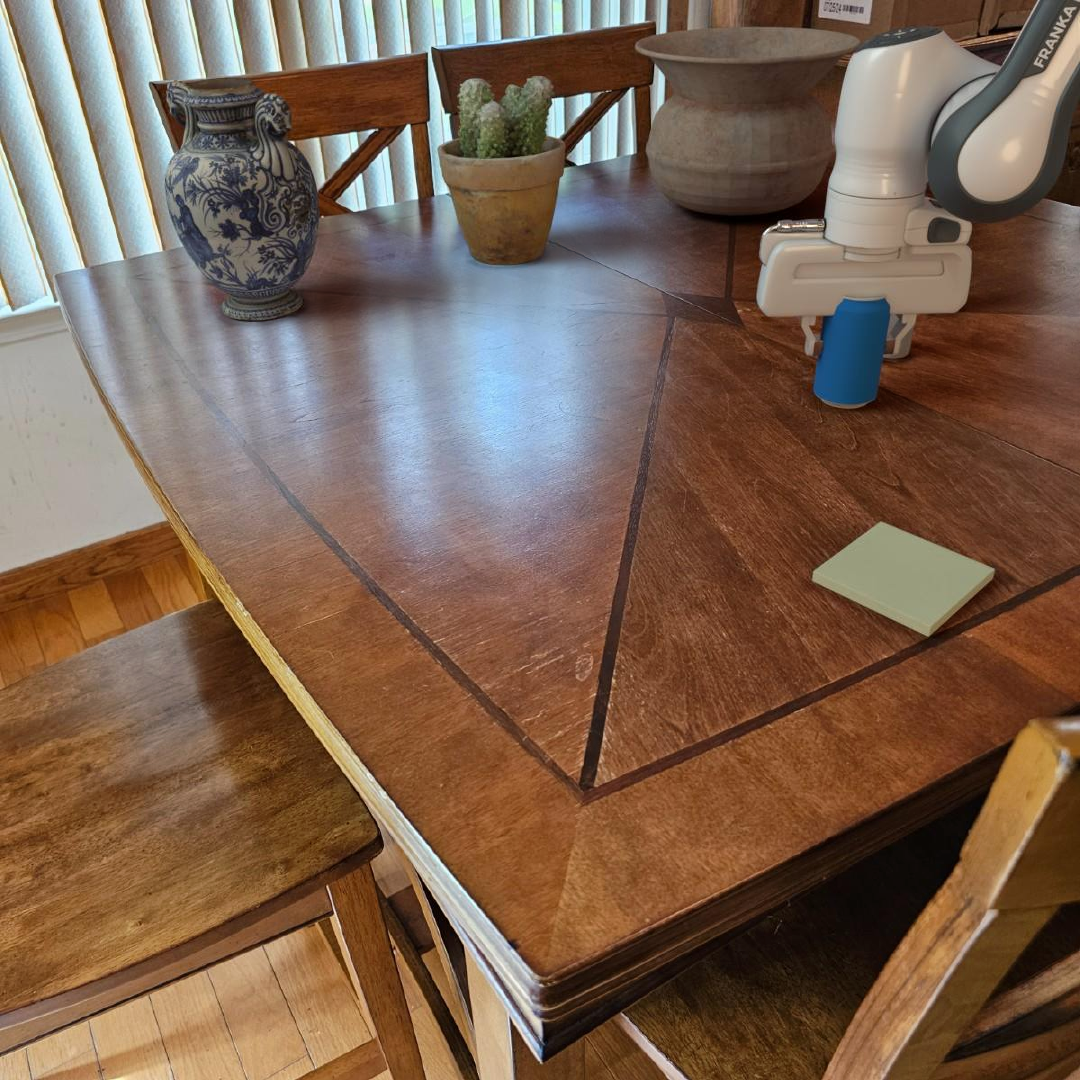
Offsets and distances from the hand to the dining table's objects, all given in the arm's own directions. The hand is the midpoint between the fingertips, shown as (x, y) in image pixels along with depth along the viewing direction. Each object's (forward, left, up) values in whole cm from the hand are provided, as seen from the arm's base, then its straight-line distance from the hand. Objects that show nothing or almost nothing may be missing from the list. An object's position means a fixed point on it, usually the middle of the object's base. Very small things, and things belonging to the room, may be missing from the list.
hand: (851, 353), depth 102 cm
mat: (-21, +25, -5) cm, 33 cm away
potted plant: (+64, -9, -5) cm, 65 cm away
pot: (+53, -50, -5) cm, 73 cm away
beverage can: (0, 0, -5) cm, 5 cm away
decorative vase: (+72, +28, -5) cm, 77 cm away
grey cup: (+3, -14, -5) cm, 15 cm away
